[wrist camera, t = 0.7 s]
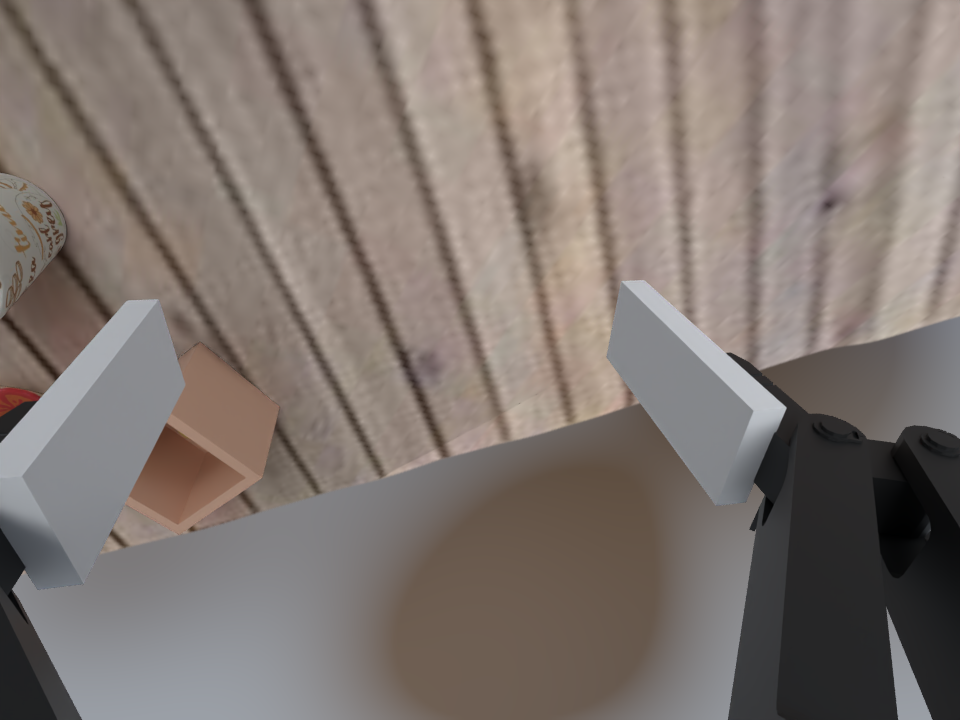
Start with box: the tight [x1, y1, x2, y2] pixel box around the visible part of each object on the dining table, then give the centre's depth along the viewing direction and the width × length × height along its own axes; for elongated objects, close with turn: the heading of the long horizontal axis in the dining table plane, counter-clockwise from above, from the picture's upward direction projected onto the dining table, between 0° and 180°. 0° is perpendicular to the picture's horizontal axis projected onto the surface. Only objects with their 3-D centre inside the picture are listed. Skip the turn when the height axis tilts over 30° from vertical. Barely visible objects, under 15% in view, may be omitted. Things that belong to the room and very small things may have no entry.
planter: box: [125, 342, 280, 535], centre depth 41 cm, size 9×9×9 cm
